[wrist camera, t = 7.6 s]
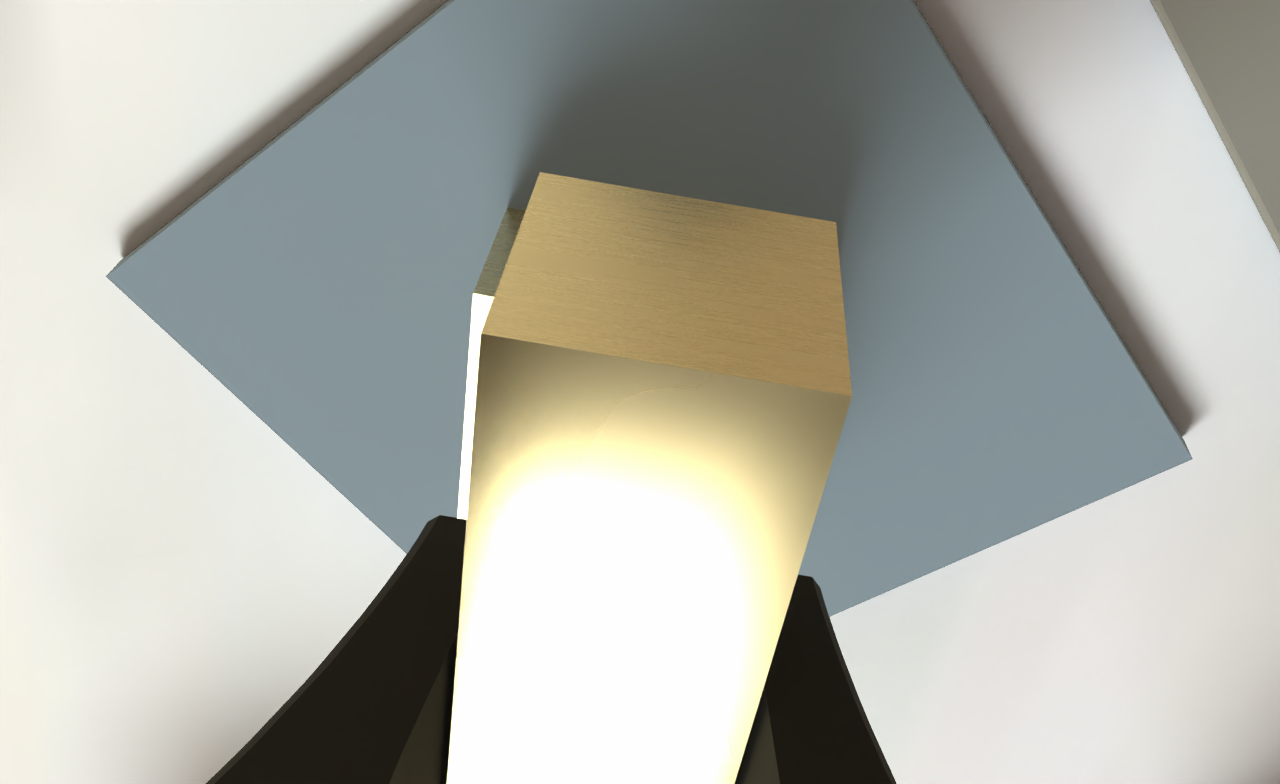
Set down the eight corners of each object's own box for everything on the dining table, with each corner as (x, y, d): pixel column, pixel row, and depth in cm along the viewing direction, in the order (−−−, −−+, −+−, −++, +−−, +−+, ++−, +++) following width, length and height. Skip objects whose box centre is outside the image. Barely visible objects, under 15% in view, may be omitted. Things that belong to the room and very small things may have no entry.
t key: (524, -2, 13) (356, 311, 8) (894, 62, 13) (975, 417, 8) (474, 592, 18) (354, 1016, 13) (736, 635, 18) (721, 1076, 13)
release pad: (1184, 440, 16) (1192, 458, 16) (591, 701, 20) (588, 721, 20) (760, -248, 12) (759, -242, 11) (119, 261, 16) (105, 277, 15)
